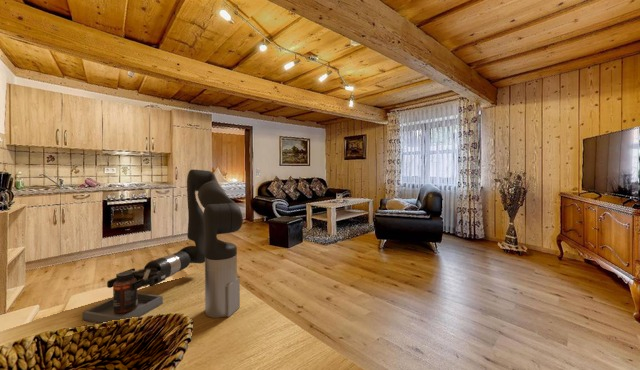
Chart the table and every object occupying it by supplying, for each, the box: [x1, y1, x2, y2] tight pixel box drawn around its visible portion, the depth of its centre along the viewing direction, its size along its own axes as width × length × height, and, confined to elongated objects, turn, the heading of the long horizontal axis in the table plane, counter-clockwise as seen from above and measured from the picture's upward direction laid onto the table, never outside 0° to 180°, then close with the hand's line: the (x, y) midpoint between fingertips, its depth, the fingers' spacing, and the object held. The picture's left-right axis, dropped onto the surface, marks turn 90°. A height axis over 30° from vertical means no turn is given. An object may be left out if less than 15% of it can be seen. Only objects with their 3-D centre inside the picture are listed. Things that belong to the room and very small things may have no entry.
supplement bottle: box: [112, 270, 138, 314], centre depth 80 cm, size 6×6×11 cm
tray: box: [81, 292, 164, 324], centre depth 80 cm, size 14×14×2 cm
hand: (119, 286), depth 78 cm, fingers open, 8 cm apart
